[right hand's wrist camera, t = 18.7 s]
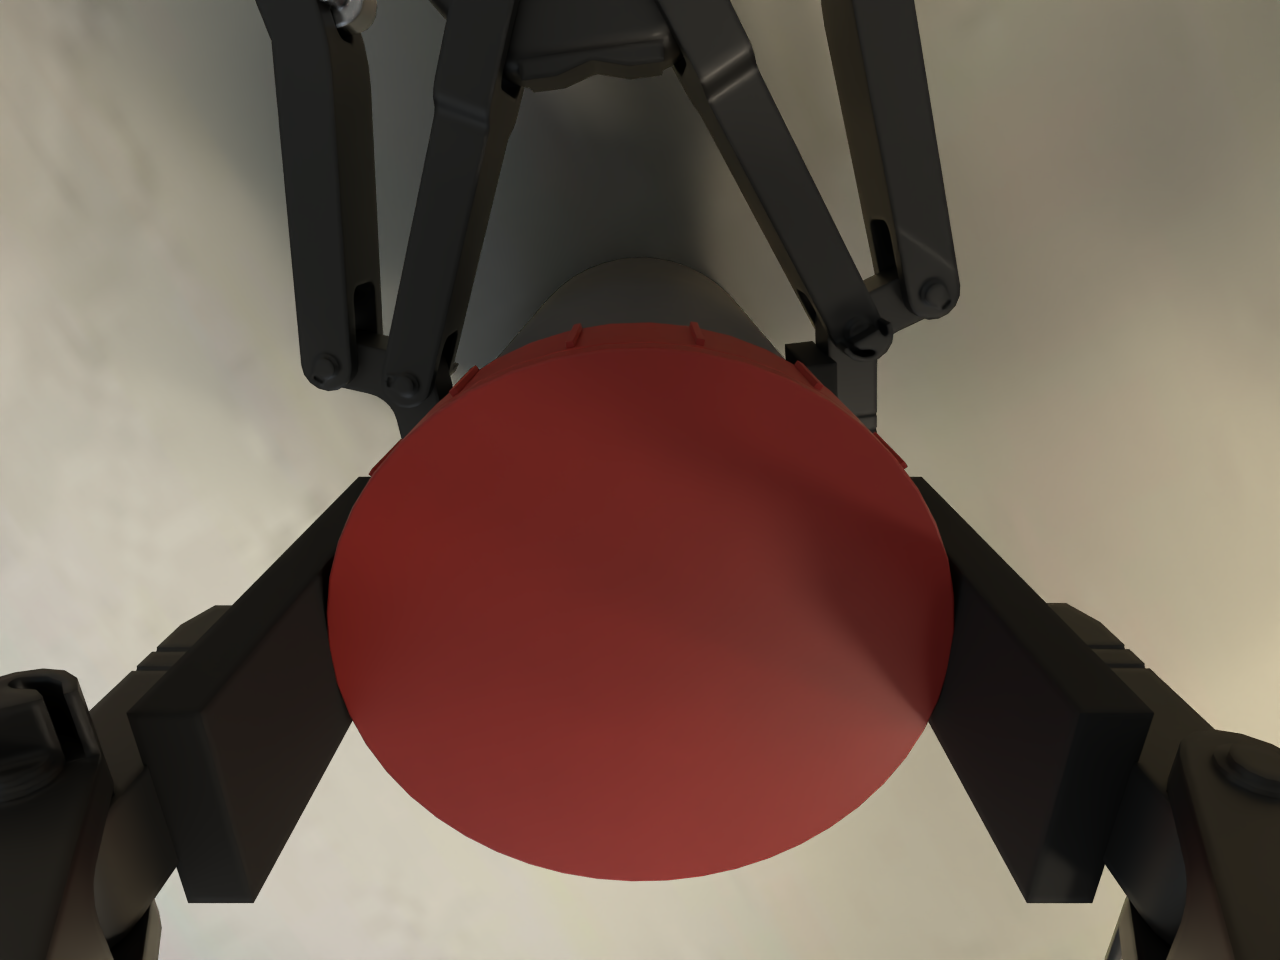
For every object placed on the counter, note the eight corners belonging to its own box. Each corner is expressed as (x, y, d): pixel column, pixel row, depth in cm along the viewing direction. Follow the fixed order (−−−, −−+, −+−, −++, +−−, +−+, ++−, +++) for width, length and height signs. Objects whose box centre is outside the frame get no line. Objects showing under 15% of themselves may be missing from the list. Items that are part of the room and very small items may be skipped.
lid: (1021, 601, 12) (1083, 669, 10) (631, 869, 15) (629, 962, 13) (657, 179, 10) (661, 177, 8) (258, 582, 12) (194, 648, 10)
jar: (528, 497, 27) (401, 844, 13) (508, 259, 24) (310, 362, 9) (757, 493, 27) (890, 837, 12) (767, 254, 24) (961, 349, 9)
